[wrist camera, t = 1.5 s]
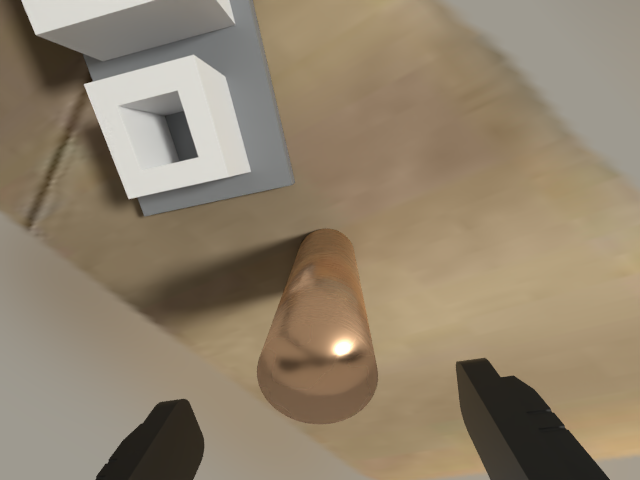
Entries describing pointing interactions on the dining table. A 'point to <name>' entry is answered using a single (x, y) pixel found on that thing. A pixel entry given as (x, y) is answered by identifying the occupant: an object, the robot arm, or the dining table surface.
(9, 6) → the dining table surface
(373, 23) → the dining table surface
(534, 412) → the robot arm
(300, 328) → the copper pipe
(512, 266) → the dining table surface
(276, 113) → the socket plate
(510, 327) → the dining table surface
